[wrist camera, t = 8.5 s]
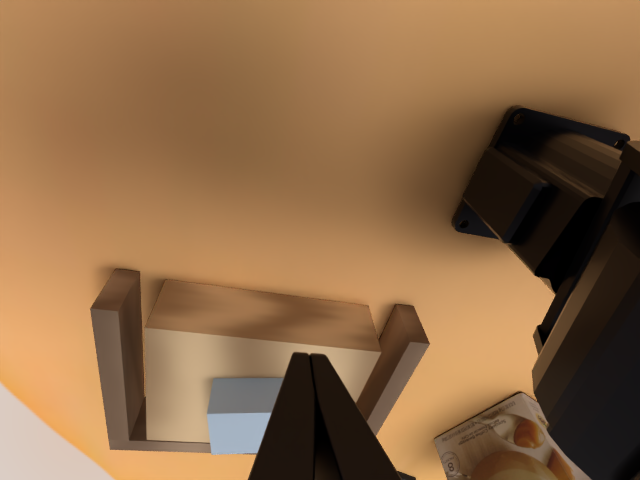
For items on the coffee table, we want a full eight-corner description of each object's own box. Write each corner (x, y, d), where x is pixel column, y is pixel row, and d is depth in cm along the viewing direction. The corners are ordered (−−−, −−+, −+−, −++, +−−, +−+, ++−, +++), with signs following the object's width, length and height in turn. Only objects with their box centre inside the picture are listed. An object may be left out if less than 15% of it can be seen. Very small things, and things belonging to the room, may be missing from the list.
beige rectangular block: (367, 301, 23) (381, 352, 19) (327, 395, 28) (333, 448, 24) (167, 274, 20) (144, 327, 17) (164, 382, 25) (146, 439, 22)
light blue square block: (287, 377, 20) (288, 412, 18) (284, 418, 22) (284, 452, 20) (213, 378, 19) (206, 413, 18) (217, 419, 21) (211, 454, 20)
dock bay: (413, 306, 22) (429, 344, 20) (356, 419, 29) (362, 458, 27) (115, 268, 19) (90, 308, 17) (127, 406, 26) (110, 449, 23)
